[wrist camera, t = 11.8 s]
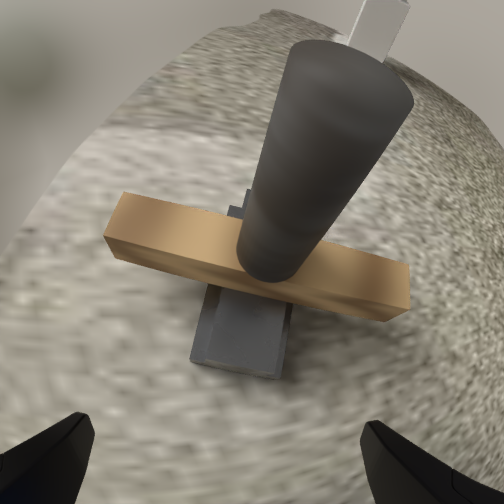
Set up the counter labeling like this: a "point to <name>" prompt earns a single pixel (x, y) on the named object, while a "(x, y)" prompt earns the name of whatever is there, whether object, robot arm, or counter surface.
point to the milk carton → (378, 26)
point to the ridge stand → (242, 328)
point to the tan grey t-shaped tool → (291, 196)
